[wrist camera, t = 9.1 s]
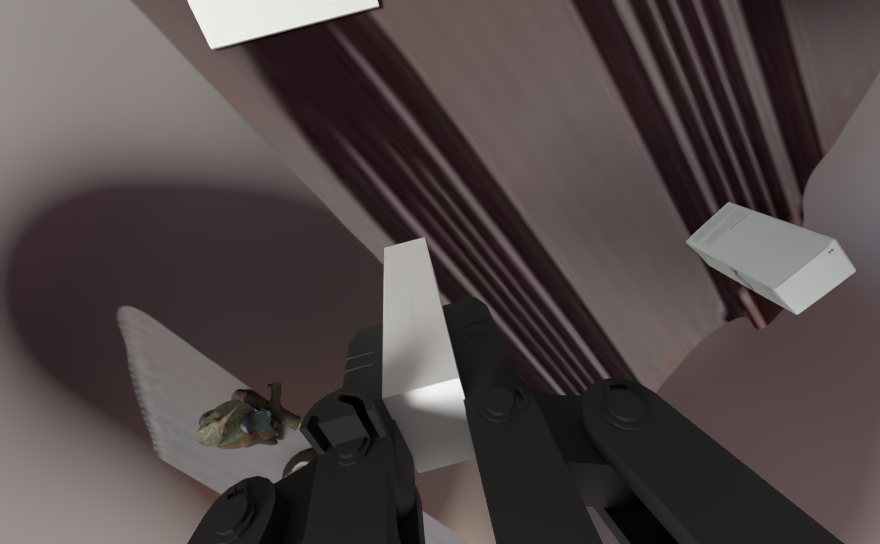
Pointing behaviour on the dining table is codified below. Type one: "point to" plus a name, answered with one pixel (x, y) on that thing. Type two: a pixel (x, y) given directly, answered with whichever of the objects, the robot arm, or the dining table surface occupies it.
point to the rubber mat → (266, 17)
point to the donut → (299, 461)
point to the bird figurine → (245, 421)
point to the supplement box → (772, 256)
